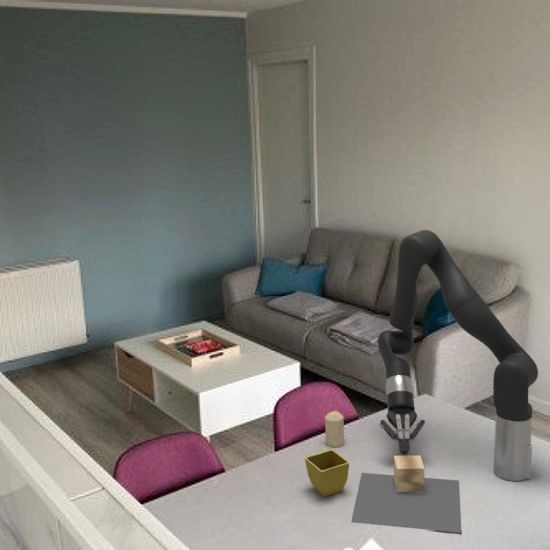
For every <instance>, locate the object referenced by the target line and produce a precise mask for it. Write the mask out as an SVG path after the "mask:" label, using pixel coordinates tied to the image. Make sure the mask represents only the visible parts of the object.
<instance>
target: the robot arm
mask: <svg viewBox="0 0 550 550" xmlns="http://www.w3.org/2000/svg"><path fill="white" fill-rule="evenodd" d="M397 258H398V260H397V261H398V262H397V274H396V275H397V277H396V286H395V287H396V288H395V293H394V297H393V298H394V299H393V303H392V305H391V306H392V308H391V310H390V315H389V318H388V319H389V320H388V321H389V324H390V326H392V328H395V329H396V330H399V331H396V330H383V331H381V332H380V333H379V335H378V337H377V347H378V350H379V353H380V356H381V358H382V362H383V363H384V367H385V377H386V379H385V380H386V383H385V385H386V386H385V388H386V393H385V394H386V402H387V414H386V417H385V418H384V419H381V420H380V422H379V426H380V428H382V429H383V431H385V433H386V434H387V435H388V437H390V438H391V440H395V441H397V443H398V452H399V453H400V454H401V456H408V455H409V454H408V453H410V450H411V448H410V447H411V446H410V445H411V444H410V441H411V440H412V441H414V440H415V438H417V435H418V434H419V433H420V432H421V430H423V427H424V426H425V423H426V420H425V419H421V418H420V417H418V414H417V412H416V409H415V398H414V387H413V382H412V378H411V368H410V367H411V366H410V363H409V361H408V360H407V359H404V358H402V357H399V356H408V355H409V354H411V353H412V351H413V349H414V335H413V334H414V333H413V332H414V322H415V317H416V314H417V310H418V304H419V297H418V290H417V281H418V278H419V274H420V272H421V270H422V267H423V266H424V265H426V266H427V267H428V268H429V269H430V270H431V272H432V273H433V275H435V278H436V279H437V281H438V283H439V285H440V288H441V293H442V297H443V301H444V304H445V308H446V309H447V310H448V312H449V313H450V315H451V317H452V318H453V319H454V320H455V321H456V323H457V325H459V326H460V328H461V329H463V330H464V331H465V332H466V333H468V335H470V336H472V337H473V338H474V339H475V340H477V341H479V342H481V344H483V345H484V346H485V347H487V348H488V350H490V352H492V354H493V355H494V357H495V358H496V359H497V361H498V362H499V363H498V364H497V365H496V367H495V369H494V371H493V383H492V384H493V385H492V386H493V387H492V388H493V389H492V391H493V392H492V393H493V397H492V398H493V404H494V407H495V424H494V425H495V426H494V427H495V428H494V449H493V450H494V451H493V452H494V453H493V473H494V474H495V475H496V476H497V477H499V478H500V479H503V480H506V481H512V482H520V481H525V480H531V477H532V476H531V475H532V473H531V472H532V454H533V453H532V452H533V447H532V428H533V427H532V426H533V425H532V424H533V406H532V404H530V403H529V388H530V387H531V386H532V385H534V383H535V382H536V381H537V379H538V378H539V369H538V366H537V363H536V362H535V360H534V359H533V358H532V357H531V356H530V355H529V353H528V352H526V350H525V349H524V348H523V347H522V346H521V345H520V344H519V343H518V342H517V341H516V340H515V339H514V338H513V336H512V335H511V334H510V333H509V332H508V330H507V329H506V328H505V327H504V325H503V324H502V323H501V322H500V320H499V319H498V317H497V316H496V315H495V313H493V311H492V310H491V308H490V307H489V306H488V304H487V303H486V301H485V300H484V299H483V297H482V296H481V295H480V294H479V292H478V291H477V290H476V289H475V288H474V286H473V285H472V284H471V283H470V281H469V280H468V279H467V277H466V276H465V274H463V272H462V270H461V269H460V268H459V266H457V263H456V262H455V261H454V259H453V258H452V256H451V255H450V252H449V251H448V249H447V248H446V246H445V244H444V243H443V242H442V240H441V239H440V238H439V236H438V235H437V234H436V233H434V232H433V231H431V230H429V229H422V230H419V231H417V232H414V233H412V234H409V235H407V236H405V237H404V238H403V239H402V240H401V242H400V244H399V250H398V257H397ZM414 423H415V428H414V430H412V432H411V433H410V429H411V428H412V427H413V425H414ZM390 425H391V426H392V427H393V428H392V427H391V426H390ZM393 429H395V431H396V432H395V431H394V430H393Z"/></svg>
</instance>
